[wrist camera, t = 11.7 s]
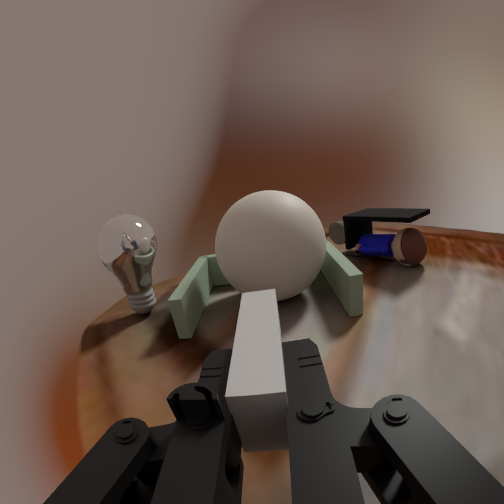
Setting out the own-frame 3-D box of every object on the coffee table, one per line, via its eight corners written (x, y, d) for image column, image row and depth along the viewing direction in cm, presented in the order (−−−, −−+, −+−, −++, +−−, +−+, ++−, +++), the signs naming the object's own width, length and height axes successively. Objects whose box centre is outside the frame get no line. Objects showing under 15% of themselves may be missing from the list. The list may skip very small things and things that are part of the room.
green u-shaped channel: (362, 314, 23) (362, 273, 22) (179, 338, 24) (167, 300, 23) (327, 266, 37) (325, 238, 36) (205, 283, 38) (200, 256, 37)
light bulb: (122, 333, 26) (89, 223, 23) (117, 311, 32) (92, 221, 29) (180, 314, 29) (155, 206, 26) (165, 296, 35) (144, 207, 32)
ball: (364, 221, 24) (319, 225, 36) (254, 156, 22) (241, 182, 34) (308, 333, 24) (280, 304, 35) (191, 279, 22) (199, 264, 34)
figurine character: (330, 265, 41) (415, 274, 28) (322, 216, 40) (408, 209, 27) (357, 254, 44) (436, 259, 31) (350, 209, 43) (430, 202, 30)
